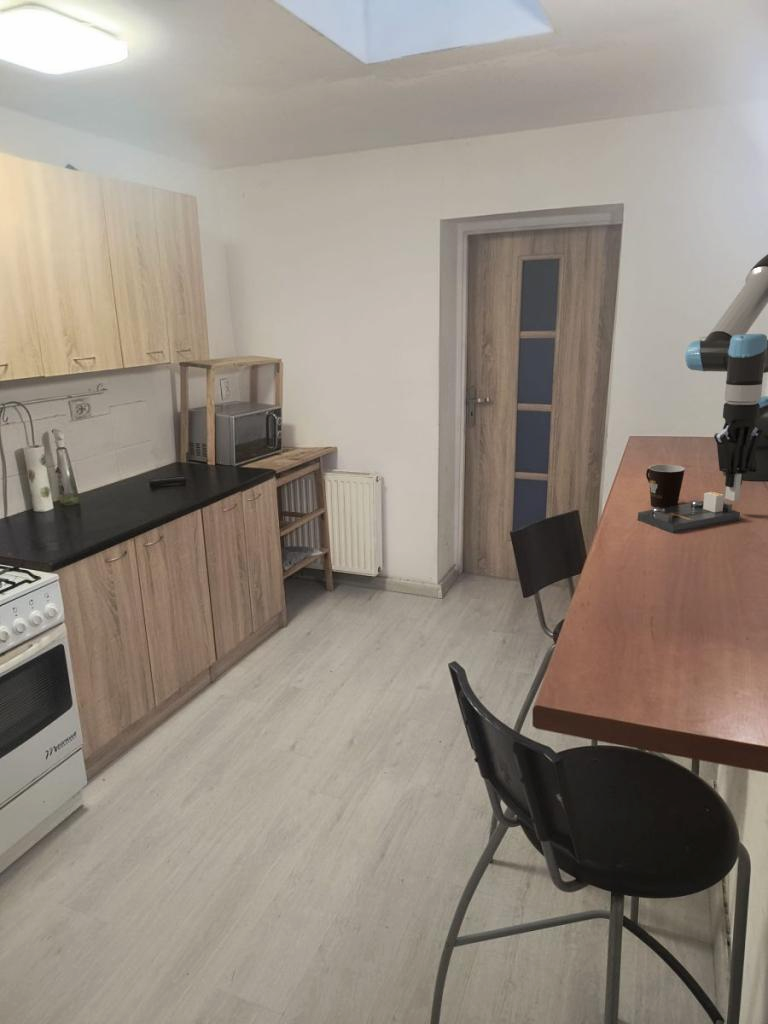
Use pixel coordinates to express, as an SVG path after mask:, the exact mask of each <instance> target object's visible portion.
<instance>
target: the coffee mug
mask: <svg viewBox="0 0 768 1024" xmlns="http://www.w3.org/2000/svg"><path fill="white" fill-rule="evenodd" d="M685 469H686V467H684V466H680V465H675V464H664V463H663V464H653V465H649V466H648V468H647V470H646V473H645V476H646V480H647V482H648V484H649V495H650V497H649V499H650V506H651V507H652V508H654V507H663V508H665V507H671V506H677V505H679V499H680V494H681V490H682V486H683V485H682V484H683V481H684V480H683V479H684V475H685Z"/></svg>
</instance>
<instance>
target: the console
mask: <svg viewBox="0 0 768 1024" xmlns="http://www.w3.org/2000/svg"><path fill="white" fill-rule="evenodd" d="M703 504H704V500H700V499H699V500H698V499H696V500H695V499H694V500H691V502H689V503H685V504H684V503H683V504H678V505H677V506H671V507H665V508H663V507H652V509H650V510H645V511H638V512H637V521H639V522H642V523H644V524H647V525H650V526H652V527H655V528H659V529H661V530H662V531H663V530H664V531H666V532H669V533H671V534H676V533H680V532H686V531H691V530H692V531H693V530H696V529H702V528H706V527H711V526H718V525H722V524H728V523H734V522H737V521H740V517H741V512H740V511H737V510H733V504H732V503H729V502H726V501H724V502H723V511H720V512H712V511H708V510H705V509H703Z"/></svg>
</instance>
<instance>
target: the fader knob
mask: <svg viewBox="0 0 768 1024" xmlns="http://www.w3.org/2000/svg"><path fill="white" fill-rule="evenodd" d="M724 500H725V494H722V493H718V492H714V491H708V492H704V494H703V501H704V504H703V509H705V510H708V511H712V512H720V511H723V502H725V501H724Z"/></svg>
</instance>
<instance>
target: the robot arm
mask: <svg viewBox="0 0 768 1024" xmlns="http://www.w3.org/2000/svg"><path fill="white" fill-rule="evenodd" d="M744 281H745V284H744V286H742V288H741V289H740V290H739V292H738V294H737V295H736V296H735V298H734V299H733V301H732V302H731V303H730V305H729V307H727V309H726V311H724V313H723V314H722V315H721V317H720V319H719V320H718V321H717V323H716V324H715V325H714V327H713V328H712V330H711V331H710V332H709V334H708V335H707V336H706V338H705V339H704V340H702V339H700V340H694V341H691V342H690V343H689V345H688V346H687V348H686V350H685V355H684V359H685V365H686V366H687V368H688V369H689V370H691V371H699V372H723V373H725V372H726V381H725V393H724V401H725V403H724V404H723V408H722V410H723V411H722V418H723V419H724V421H725V422H724V425H723V428H722V430H721V432H719V433H715V434H714V435H713V436H714V437H713V438H714V439H715V442H716V447H717V449H716V450H717V457H718V459H717V460H718V468H719V471H720V472H722V475H723V476H725V483H724V485H725V494H724V500H725V499H726V500H729V501H732V502H736V501H737V502H738V501H740V493H741V491H740V490H741V486H742V484H743V480H745V481H753V482H755V481H756V482H758V481H759V482H761V481H763V482H765V481H768V395H766V396H762V392H763V391H762V389H763V381H764V374H766V373H768V337H767V335H766V334H765V333H748V332H749V331H750V329H751V328H752V326H753V325H754V323H755V322H756V320H757V319H758V318H759V316H760V315H761V314H762V312H763V311H764V309H765V307H766V306H767V304H768V254H766V255H765V256H764V257H761V259H760V260H759V261H757V262H756V264H755V265H753V267H752V268H751V269H750V271H748V273H747V275H746V278H745V280H744Z"/></svg>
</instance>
